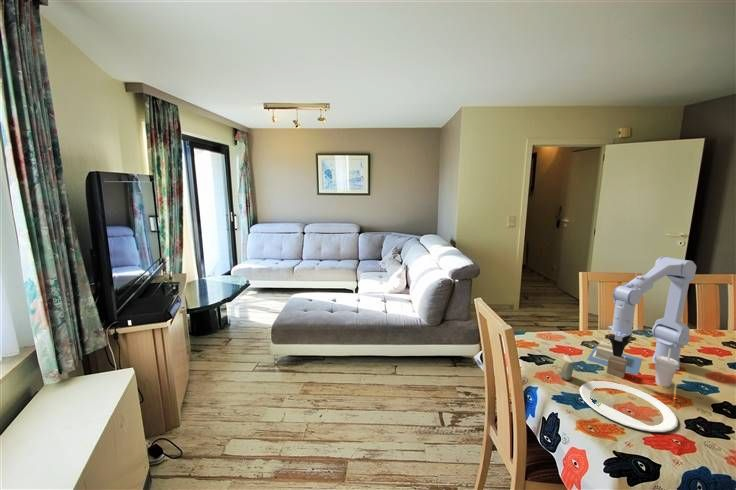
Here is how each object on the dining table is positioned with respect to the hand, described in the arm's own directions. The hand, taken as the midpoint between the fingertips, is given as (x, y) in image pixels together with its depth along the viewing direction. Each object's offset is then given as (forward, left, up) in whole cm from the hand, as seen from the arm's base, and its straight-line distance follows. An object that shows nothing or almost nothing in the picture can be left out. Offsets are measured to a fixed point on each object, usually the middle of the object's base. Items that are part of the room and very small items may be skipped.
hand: (618, 352), depth 119 cm
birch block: (-13, -4, -8) cm, 16 cm away
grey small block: (+16, -13, -9) cm, 23 cm away
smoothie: (-4, +13, -9) cm, 16 cm away
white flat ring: (+20, +5, -10) cm, 23 cm away
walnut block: (0, 0, -9) cm, 9 cm away
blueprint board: (-12, -2, -9) cm, 15 cm away
